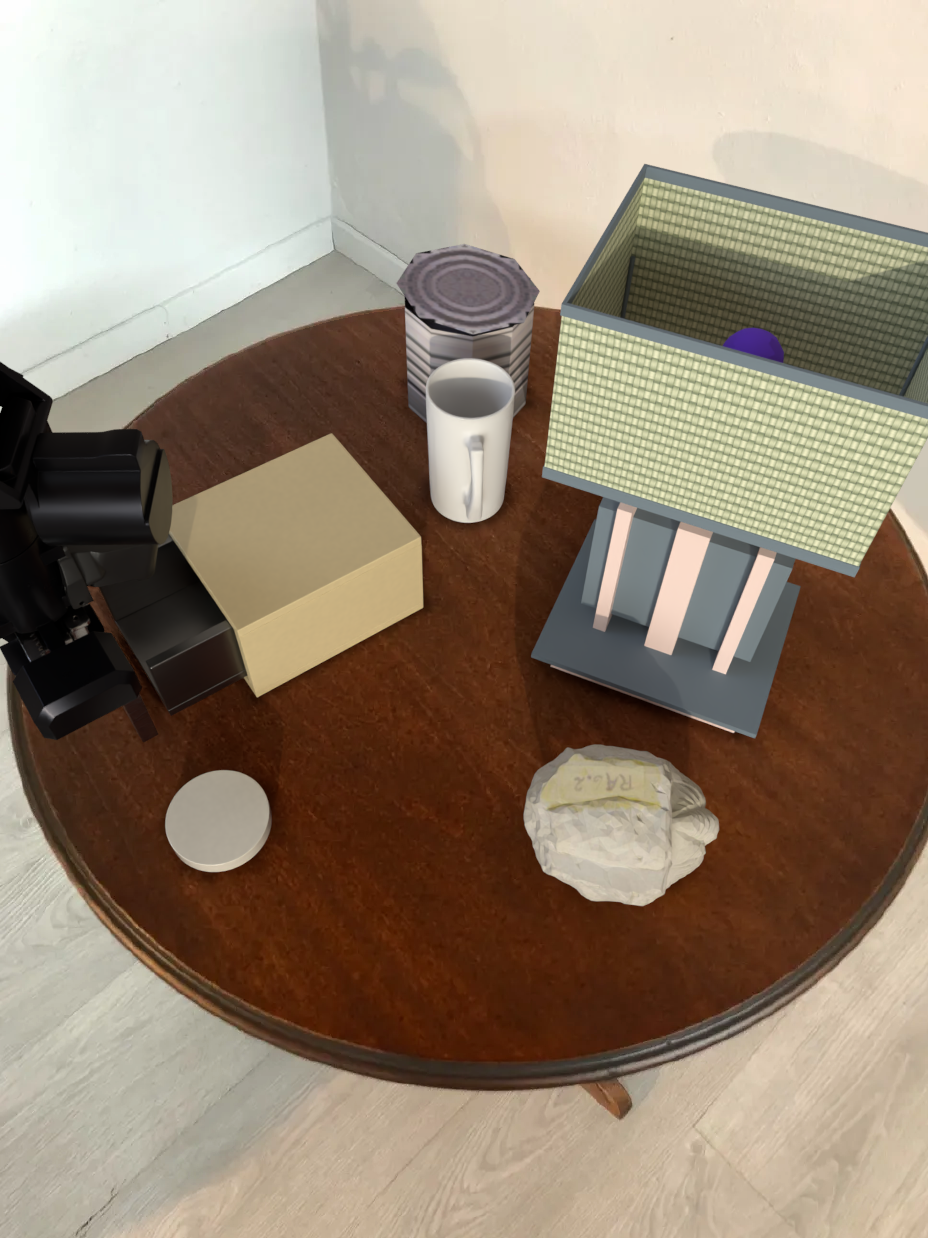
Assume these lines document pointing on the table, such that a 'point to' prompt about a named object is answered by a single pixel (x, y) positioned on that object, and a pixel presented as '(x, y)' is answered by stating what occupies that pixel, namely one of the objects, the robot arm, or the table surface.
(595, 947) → the table surface
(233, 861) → the cylinder
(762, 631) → the desk lamp
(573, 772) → the fossil replica
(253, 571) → the tan cardboard box
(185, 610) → the drawer
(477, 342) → the can
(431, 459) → the mug
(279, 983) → the table surface
